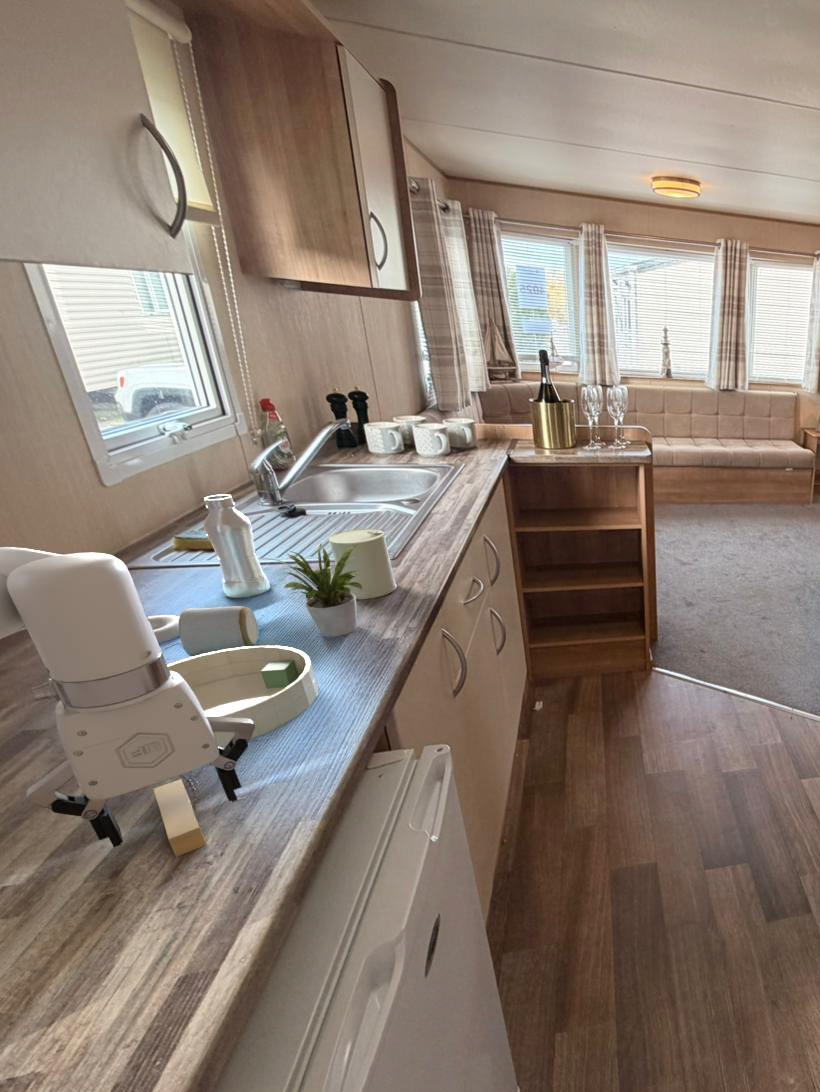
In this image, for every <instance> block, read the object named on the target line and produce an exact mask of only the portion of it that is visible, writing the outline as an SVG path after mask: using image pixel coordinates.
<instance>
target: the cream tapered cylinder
mask: <svg viewBox="0 0 820 1092" xmlns="http://www.w3.org/2000/svg"><path fill="white" fill-rule="evenodd" d="M385 535H386V534H385V532H384V531H383V530H381V529H376V528H357V529H350V530H346V531H345V530H344V531H341V532H338V533H335V534H332V535H330V536H329V538H328V543H329V545H330V548H331V549H330V550H331V551H332V552H331V553H332V556H333V559H334V562H335V566H336V565H337V563H338V562H339V560H340V559H341V557H342V556H343V554H344V553H345V552H346V551H347V550H348V549H349V548H350V547H352V546H354V545H356V544H358V545H357V546H356V547H355V548H354V549H353V550H352V551H351V553H350V556H349V558H348V559H347V561H346V562H345V564H346V563H347V562H348V561H349V560H350V561H349V562H348V563H347V564H346V565H345V564H344V565H345V567H344V568H343V570H342V572H341V574H344V573H347V572H351V571H356V570H360V571H356V572H353V573H350V574H358V575H355V576H356V577H354V578H352V579H351V580H350V581H349V583H350V582H357V583H359V584H361V586H362V590H361V589H359V588H357V587H354V586H350V585H347V587H348V588H350V593H353V594H354V595H355V596H356V600H368V599H369V598H370V599H375V598H379V597H383V596H387V595H388V594H391V593H392V592H394V591H396V589H397V588H398V585H397V583H396V580H395V575H394V572H393V568H392V563H391V558H390V555H389V549H388V545H387V540H386V536H385ZM336 549H337V550H336ZM335 550H336V551H335ZM334 551H335V552H334ZM333 552H334V553H333ZM356 556H358V557H356ZM354 557H355V558H354ZM352 558H353V559H352ZM341 574H340V575H341ZM370 599H369V600H370Z"/></svg>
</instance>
